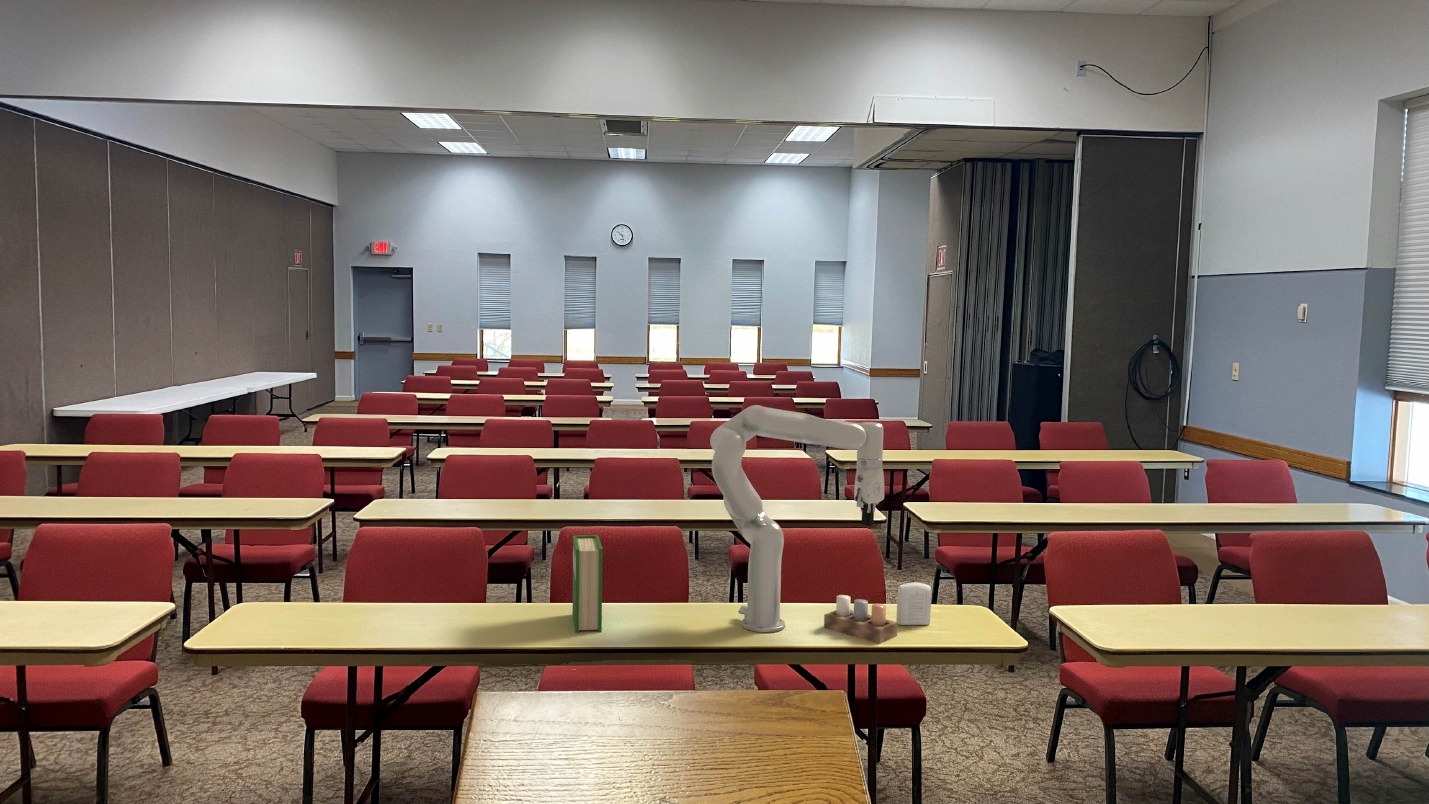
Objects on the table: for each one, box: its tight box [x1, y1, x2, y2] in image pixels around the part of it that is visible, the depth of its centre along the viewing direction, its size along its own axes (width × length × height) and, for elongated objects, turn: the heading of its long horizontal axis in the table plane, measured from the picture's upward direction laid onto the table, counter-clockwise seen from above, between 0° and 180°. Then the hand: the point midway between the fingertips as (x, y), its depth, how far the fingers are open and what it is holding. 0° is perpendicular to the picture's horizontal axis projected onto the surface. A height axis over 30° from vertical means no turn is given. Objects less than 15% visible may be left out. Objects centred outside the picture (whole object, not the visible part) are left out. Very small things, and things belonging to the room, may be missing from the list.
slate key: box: [853, 598, 869, 622], centre depth 262 cm, size 4×4×7 cm
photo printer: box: [895, 582, 932, 626], centre depth 271 cm, size 10×4×12 cm, turn 98°
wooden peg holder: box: [823, 609, 898, 644], centre depth 262 cm, size 19×9×4 cm, turn 48°
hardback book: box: [571, 534, 604, 634], centre depth 265 cm, size 18×7×24 cm, turn 11°
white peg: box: [835, 594, 851, 617], centre depth 266 cm, size 4×4×7 cm
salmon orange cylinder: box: [870, 603, 887, 627], centre depth 258 cm, size 4×4×7 cm
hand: (867, 524), depth 271 cm, fingers closed
